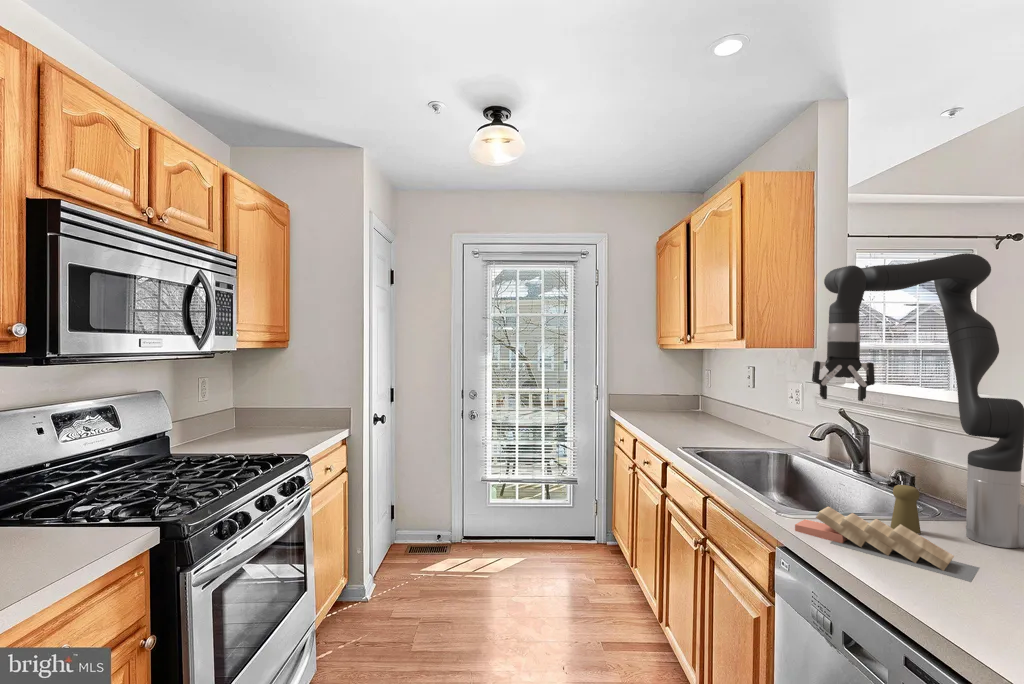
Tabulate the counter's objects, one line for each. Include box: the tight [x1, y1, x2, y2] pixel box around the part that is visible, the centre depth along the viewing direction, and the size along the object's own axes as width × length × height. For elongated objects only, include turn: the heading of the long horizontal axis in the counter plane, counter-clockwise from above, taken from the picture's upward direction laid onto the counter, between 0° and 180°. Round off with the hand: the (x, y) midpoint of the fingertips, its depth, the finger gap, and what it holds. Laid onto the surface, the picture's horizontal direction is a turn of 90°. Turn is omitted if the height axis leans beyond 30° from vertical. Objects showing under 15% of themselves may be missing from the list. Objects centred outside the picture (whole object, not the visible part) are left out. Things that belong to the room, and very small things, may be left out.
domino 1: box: [794, 519, 848, 543], centre depth 122 cm, size 2×6×10 cm
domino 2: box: [815, 506, 867, 547], centre depth 119 cm, size 2×6×10 cm
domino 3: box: [840, 512, 894, 556], centre depth 115 cm, size 2×6×10 cm
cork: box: [889, 484, 921, 535], centre depth 127 cm, size 6×6×11 cm
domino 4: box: [864, 518, 921, 563], centre depth 112 cm, size 2×6×10 cm
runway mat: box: [829, 539, 980, 583], centre depth 111 cm, size 24×10×1 cm, turn 41°
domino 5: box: [889, 524, 955, 571], centre depth 108 cm, size 2×6×10 cm
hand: (842, 399), depth 142 cm, fingers open, 8 cm apart
